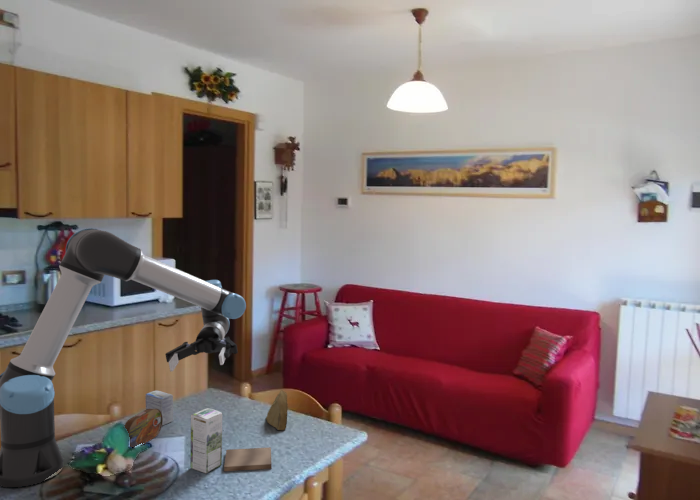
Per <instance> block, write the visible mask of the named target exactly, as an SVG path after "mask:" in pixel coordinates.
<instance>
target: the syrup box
mask: <svg viewBox="0 0 700 500" xmlns="http://www.w3.org/2000/svg"><path fill="white" fill-rule="evenodd" d="M222 450H223V412H221V411H219V410H217V409H216V410H215V409H213V408H204V409H201V410H200V411H196V412H194V413H193V414H191V415H190V465H189V466H190V469H192V470H195V471H197V472H201V473H203V474H208V473H210V472H211V471H213V470H215V469H217V468H219V467H220V466H222V463H223V458H222V457H223V451H222Z"/></svg>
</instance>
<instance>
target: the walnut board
mask: <svg viewBox="0 0 700 500" xmlns="http://www.w3.org/2000/svg"><path fill="white" fill-rule="evenodd" d="M225 451H226V452H225V459H224V466H223V471H224V472H234V471H237V472H238V471H252V470H253V471H254V470H255V471H256V470H271V469H272V448H271V446H270V447H256V448H253V447H252V448H232V449H225Z"/></svg>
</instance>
